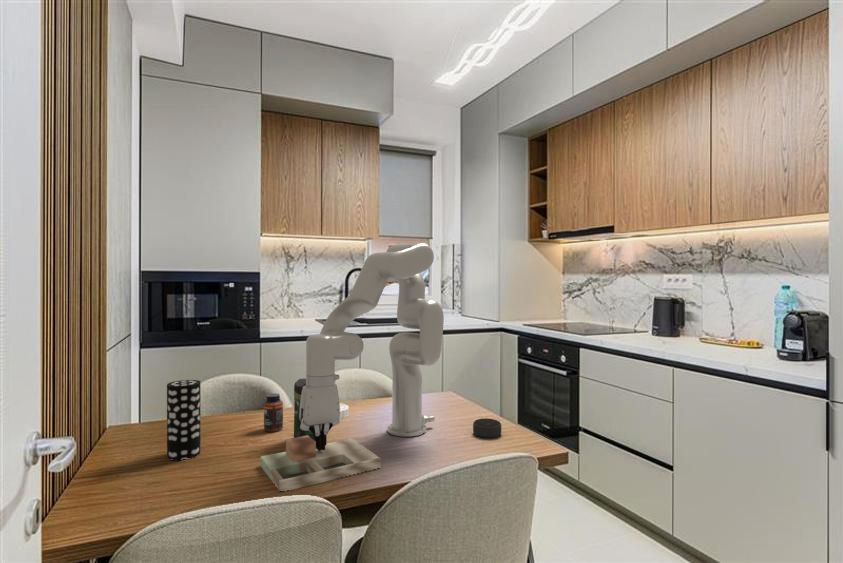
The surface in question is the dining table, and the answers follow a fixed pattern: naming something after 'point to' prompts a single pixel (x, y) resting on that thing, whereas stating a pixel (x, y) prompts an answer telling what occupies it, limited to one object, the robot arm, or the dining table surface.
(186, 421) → the white-spotted black cylinder
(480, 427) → the smart speaker
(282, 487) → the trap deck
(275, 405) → the supplement bottle
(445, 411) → the dining table surface
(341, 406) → the mooncake
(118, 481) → the dining table surface
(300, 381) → the coffee jar
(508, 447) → the dining table surface
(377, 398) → the dining table surface
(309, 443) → the block
